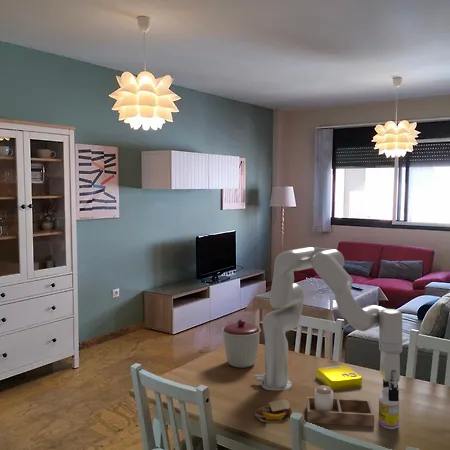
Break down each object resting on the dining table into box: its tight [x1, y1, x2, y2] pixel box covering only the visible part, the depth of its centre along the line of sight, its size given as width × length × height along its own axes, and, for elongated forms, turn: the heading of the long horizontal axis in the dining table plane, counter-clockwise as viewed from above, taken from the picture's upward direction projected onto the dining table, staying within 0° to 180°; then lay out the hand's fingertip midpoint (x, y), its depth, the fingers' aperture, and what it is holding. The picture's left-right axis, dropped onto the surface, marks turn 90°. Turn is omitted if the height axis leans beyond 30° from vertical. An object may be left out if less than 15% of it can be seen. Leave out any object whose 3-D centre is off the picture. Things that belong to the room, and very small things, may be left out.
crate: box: [306, 396, 375, 427], centre depth 172 cm, size 22×12×5 cm, turn 82°
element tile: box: [316, 364, 363, 391], centre depth 205 cm, size 15×15×5 cm
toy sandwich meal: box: [254, 398, 293, 424], centre depth 174 cm, size 12×14×5 cm
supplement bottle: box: [378, 387, 400, 430], centre depth 167 cm, size 7×7×13 cm
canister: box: [221, 319, 262, 369], centre depth 225 cm, size 18×18×21 cm
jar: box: [314, 384, 334, 412], centre depth 173 cm, size 6×6×10 cm
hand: (390, 394), depth 166 cm, fingers open, 9 cm apart
